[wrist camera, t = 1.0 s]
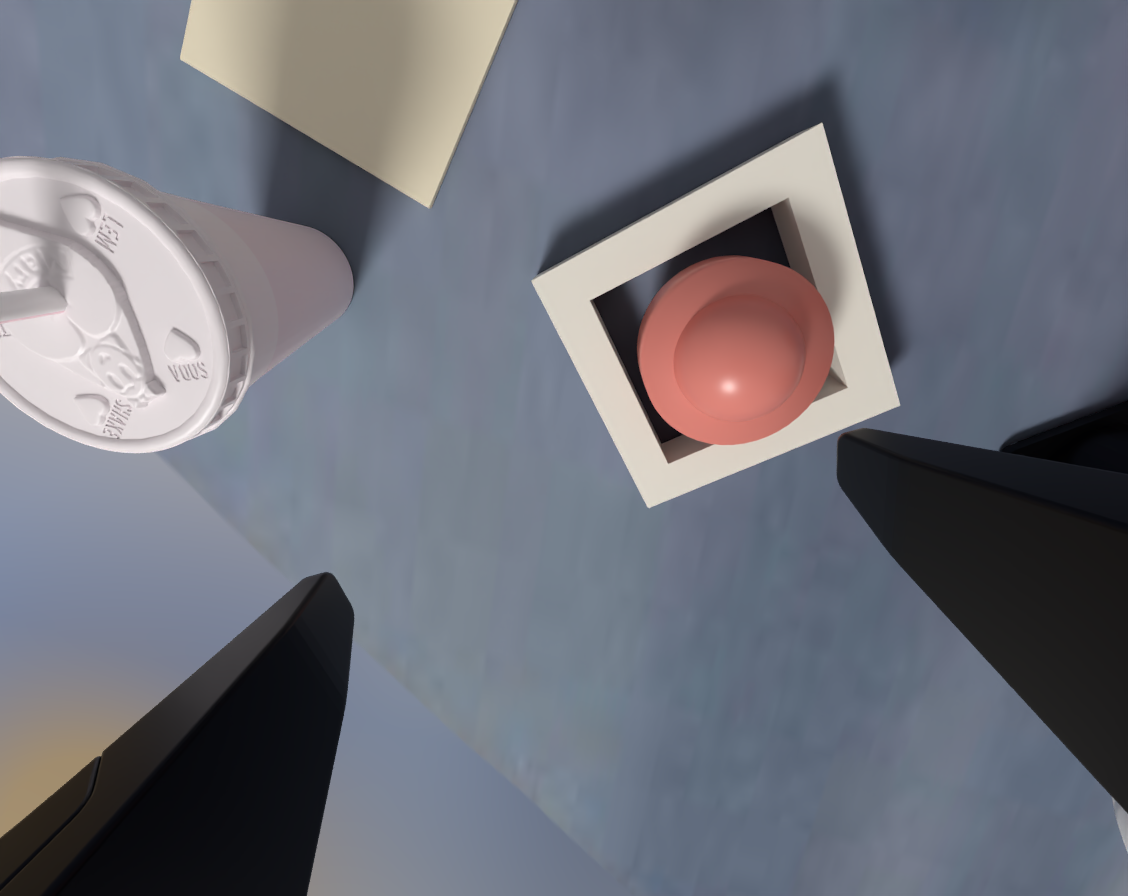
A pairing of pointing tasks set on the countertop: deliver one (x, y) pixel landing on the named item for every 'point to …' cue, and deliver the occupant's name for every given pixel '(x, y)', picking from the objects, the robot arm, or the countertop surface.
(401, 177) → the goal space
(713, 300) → the dome
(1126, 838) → the spinning top
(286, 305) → the smoothie
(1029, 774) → the countertop surface
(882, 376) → the dome base
